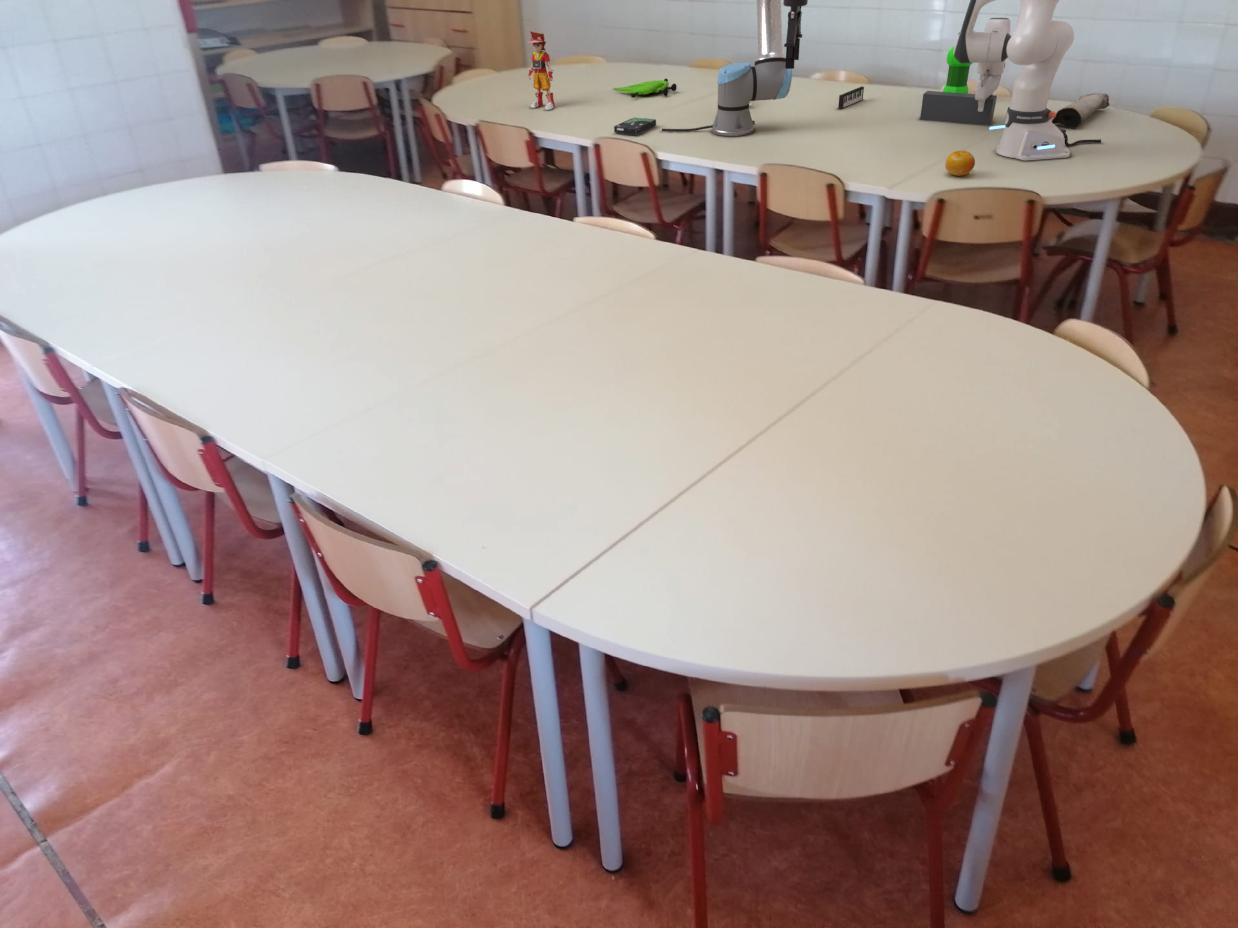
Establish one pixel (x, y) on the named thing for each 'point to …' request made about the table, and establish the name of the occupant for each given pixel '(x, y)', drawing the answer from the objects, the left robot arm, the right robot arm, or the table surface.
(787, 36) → the left robot arm
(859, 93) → the midi keyboard
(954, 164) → the fruit
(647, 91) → the toy
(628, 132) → the disk drive
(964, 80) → the plastic bottle
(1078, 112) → the rolled mat
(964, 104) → the bar
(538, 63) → the toy
